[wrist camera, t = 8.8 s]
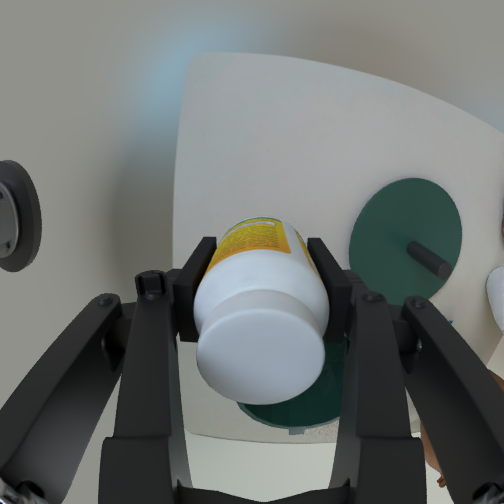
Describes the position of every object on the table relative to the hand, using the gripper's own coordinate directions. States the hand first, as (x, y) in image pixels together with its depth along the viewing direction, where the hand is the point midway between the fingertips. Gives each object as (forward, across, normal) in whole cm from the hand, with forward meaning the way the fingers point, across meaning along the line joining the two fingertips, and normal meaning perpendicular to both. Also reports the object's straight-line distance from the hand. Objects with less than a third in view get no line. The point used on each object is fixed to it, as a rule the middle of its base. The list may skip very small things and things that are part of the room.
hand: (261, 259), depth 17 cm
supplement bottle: (+1, 0, 0) cm, 1 cm away
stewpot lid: (+20, +23, -6) cm, 31 cm away
